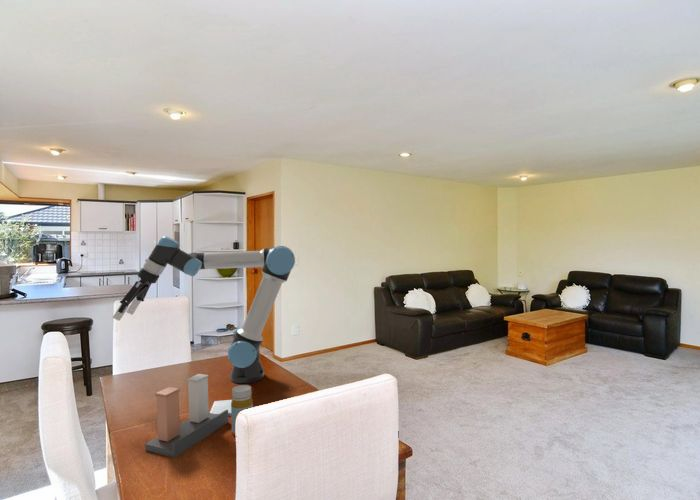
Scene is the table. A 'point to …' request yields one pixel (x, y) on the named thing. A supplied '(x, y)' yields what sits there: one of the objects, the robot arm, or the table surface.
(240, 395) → the bottle
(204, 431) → the stand
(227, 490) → the table surface
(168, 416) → the terracotta key
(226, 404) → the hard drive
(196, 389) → the grey tall block
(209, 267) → the robot arm
